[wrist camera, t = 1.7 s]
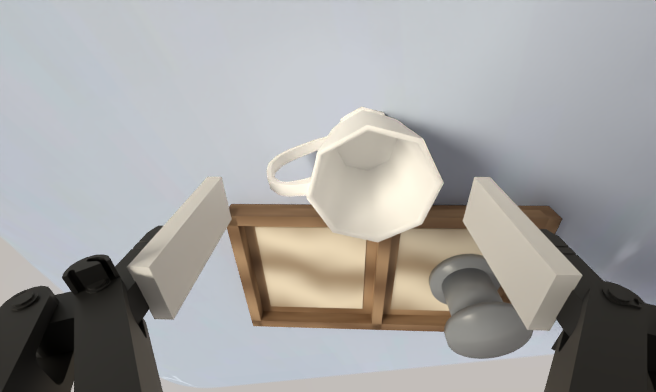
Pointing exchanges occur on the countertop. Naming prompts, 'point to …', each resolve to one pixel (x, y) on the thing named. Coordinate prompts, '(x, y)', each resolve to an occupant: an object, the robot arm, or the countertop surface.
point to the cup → (365, 176)
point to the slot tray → (349, 268)
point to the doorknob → (476, 309)
